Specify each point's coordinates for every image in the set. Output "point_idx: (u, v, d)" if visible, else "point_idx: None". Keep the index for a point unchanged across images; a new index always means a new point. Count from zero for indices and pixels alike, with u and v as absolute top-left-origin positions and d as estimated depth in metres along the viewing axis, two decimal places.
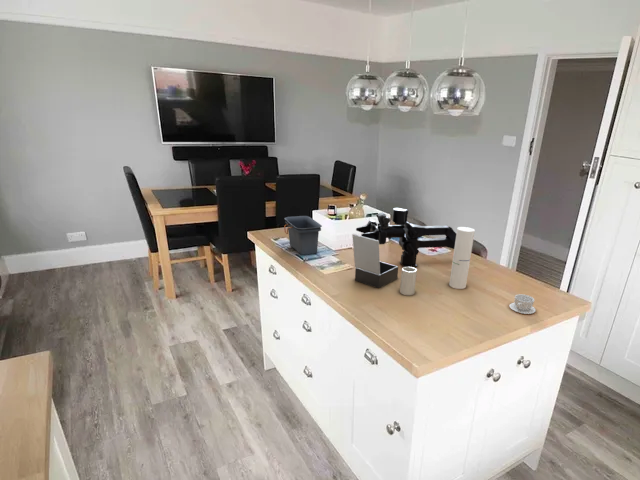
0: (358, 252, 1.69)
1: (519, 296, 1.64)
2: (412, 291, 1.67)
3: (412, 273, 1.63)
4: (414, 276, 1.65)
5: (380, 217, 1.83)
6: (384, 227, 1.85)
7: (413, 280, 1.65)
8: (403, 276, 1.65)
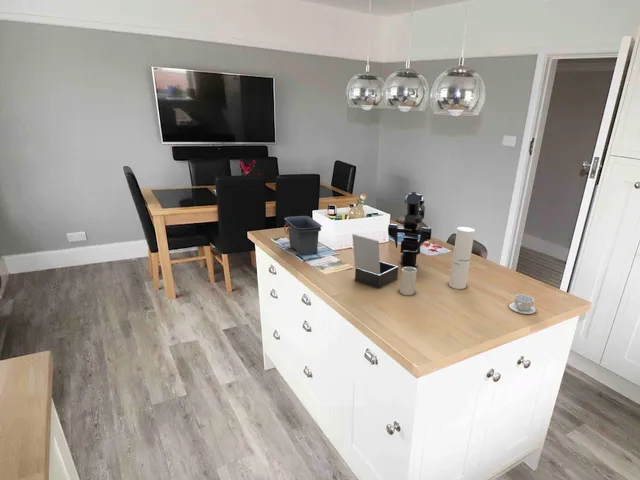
0: (358, 252, 1.69)
1: (519, 296, 1.64)
2: (412, 291, 1.67)
3: (412, 273, 1.63)
4: (414, 276, 1.65)
5: (415, 222, 1.75)
6: (417, 224, 1.79)
7: (413, 280, 1.65)
8: (403, 276, 1.65)
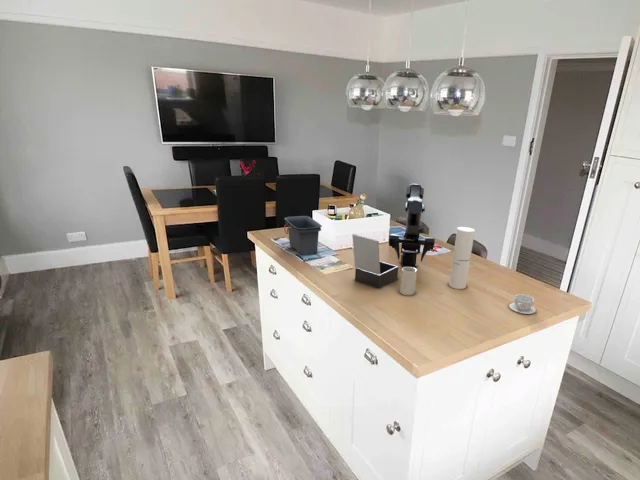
0: (358, 252, 1.69)
1: (519, 296, 1.64)
2: (412, 291, 1.67)
3: (412, 273, 1.63)
4: (414, 276, 1.65)
5: (418, 232, 1.66)
6: None
7: (413, 280, 1.65)
8: (403, 276, 1.65)
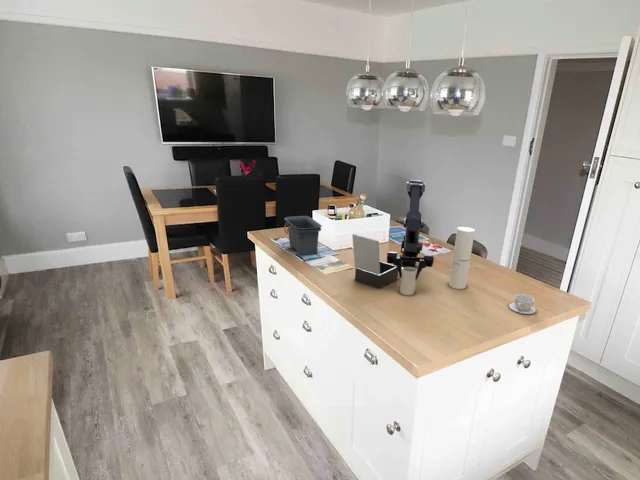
0: (358, 252, 1.69)
1: (519, 296, 1.64)
2: (412, 291, 1.67)
3: (412, 273, 1.63)
4: (414, 276, 1.65)
5: (416, 250, 1.62)
6: (418, 251, 1.67)
7: (413, 280, 1.65)
8: (403, 276, 1.65)
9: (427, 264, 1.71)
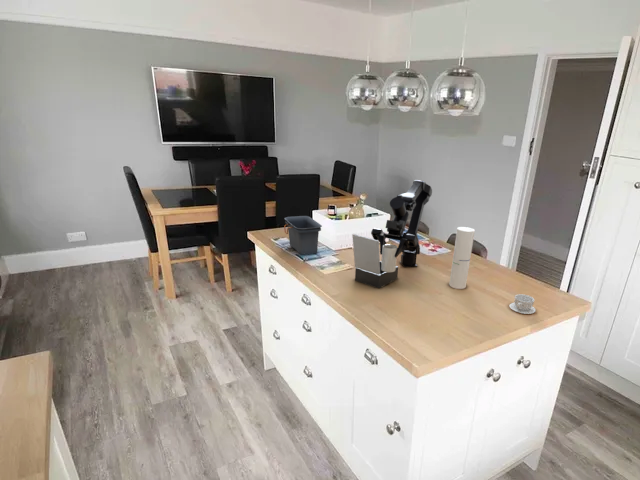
0: (358, 252, 1.69)
1: (519, 296, 1.64)
2: (391, 268, 1.69)
3: (390, 250, 1.65)
4: (393, 253, 1.66)
5: (396, 228, 1.64)
6: (401, 229, 1.68)
7: (392, 257, 1.67)
8: (382, 252, 1.68)
9: (411, 244, 1.71)
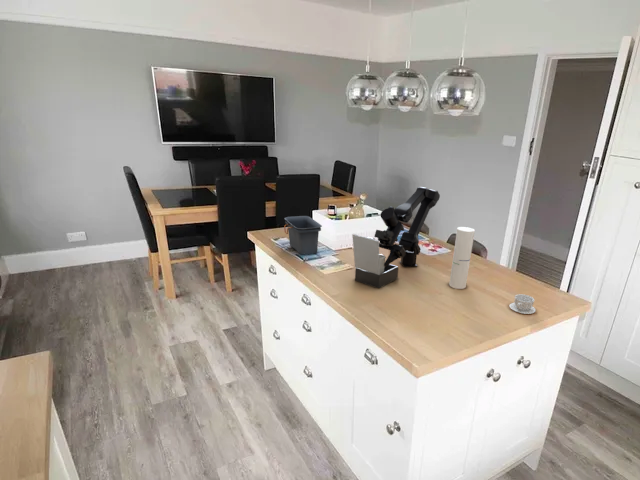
0: (358, 252, 1.69)
1: (519, 296, 1.64)
2: None
3: None
4: None
5: (383, 237, 1.71)
6: (390, 240, 1.75)
7: None
8: None
9: (400, 254, 1.76)
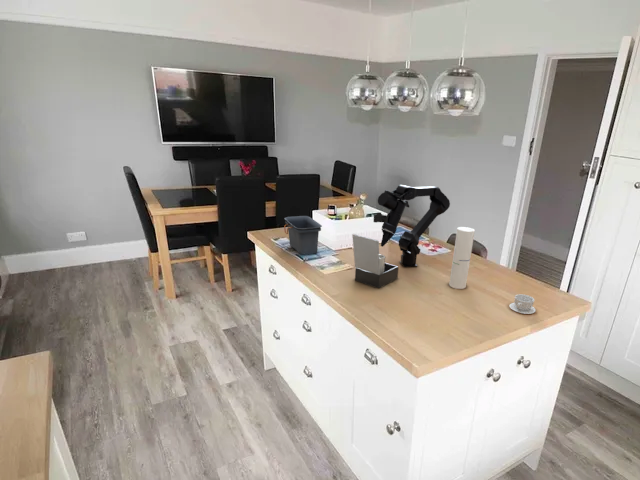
0: (358, 252, 1.69)
1: (519, 296, 1.64)
2: None
3: None
4: None
5: (374, 220, 1.81)
6: (385, 220, 1.81)
7: None
8: None
9: None
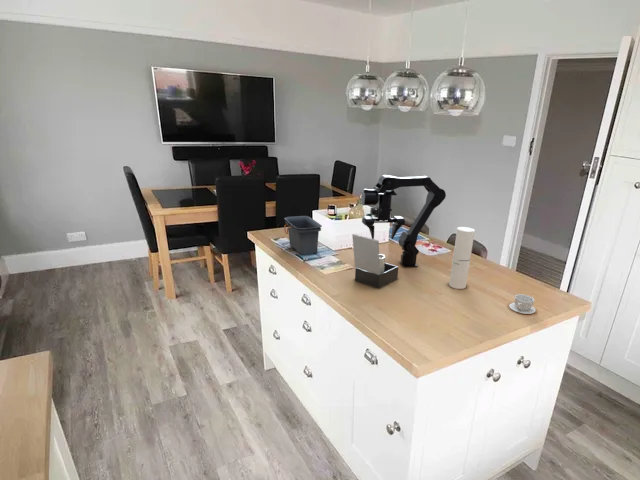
0: (358, 252, 1.69)
1: (519, 296, 1.64)
2: None
3: None
4: None
5: (374, 215, 1.92)
6: (376, 214, 1.87)
7: None
8: None
9: None
